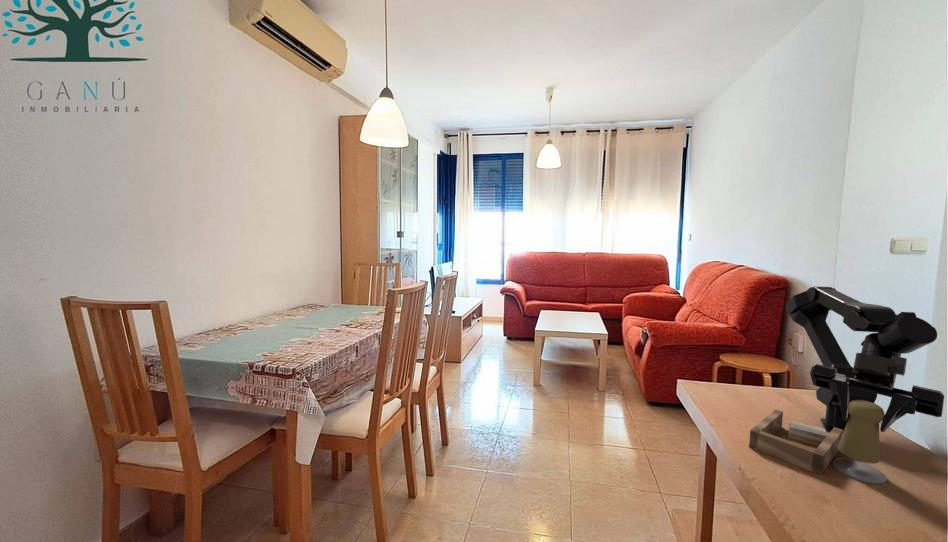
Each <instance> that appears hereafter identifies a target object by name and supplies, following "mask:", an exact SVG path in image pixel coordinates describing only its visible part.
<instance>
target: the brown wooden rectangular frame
mask: <svg viewBox="0 0 948 542" xmlns="http://www.w3.org/2000/svg"><path fill="white" fill-rule="evenodd" d="M783 418H784V411H782V410H780V409H774V410H773V411H772V412H770V414H768V415H767V416H766V417H765V418H764V419H762V420H761V421H760V422H759V423H757V424H756V425H754V426H753V427H752V428H751V429H750V432H749V442H748V443H749V444H748V447H749V448H751V449H753V450H756V451H759V452H761V453H763V454H766V455H768V456H771V457H773V458H774V457H775V458H776V459H779V460H782V461H784V462H787V463H790V464H792V465H795V466H797V467H800V468H803V469H805V470H808V471H810V472H812V471H813V473H815V472H816V473H815V474H817V475H820V474H822V475H823V473H824V472H825V470H826V469H827V468H828V466H829V465H830V464H831V462H833V461H832V460H833V459H834V458H835V456H836V455H837V454H838V452H840V451H839V449H838V446H839V443H840V440H841V438H842V435H843V430H842V429H839V428H835V427H834V428H833V429H832V430H831V431H829V433H828V434H827V437H826V438H825V439H824V440H823V441H822V443H821V444H820V445H819V446H817V448H816V449H814V448H811V447H809V446H805V445H803V444H800V443H796V442H794V441H790V440H788V439H785V438H782V437H779V436H776V435H775V434H776V433H777V432H778V431H779V430H780V429H781V428H783Z"/></svg>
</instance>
